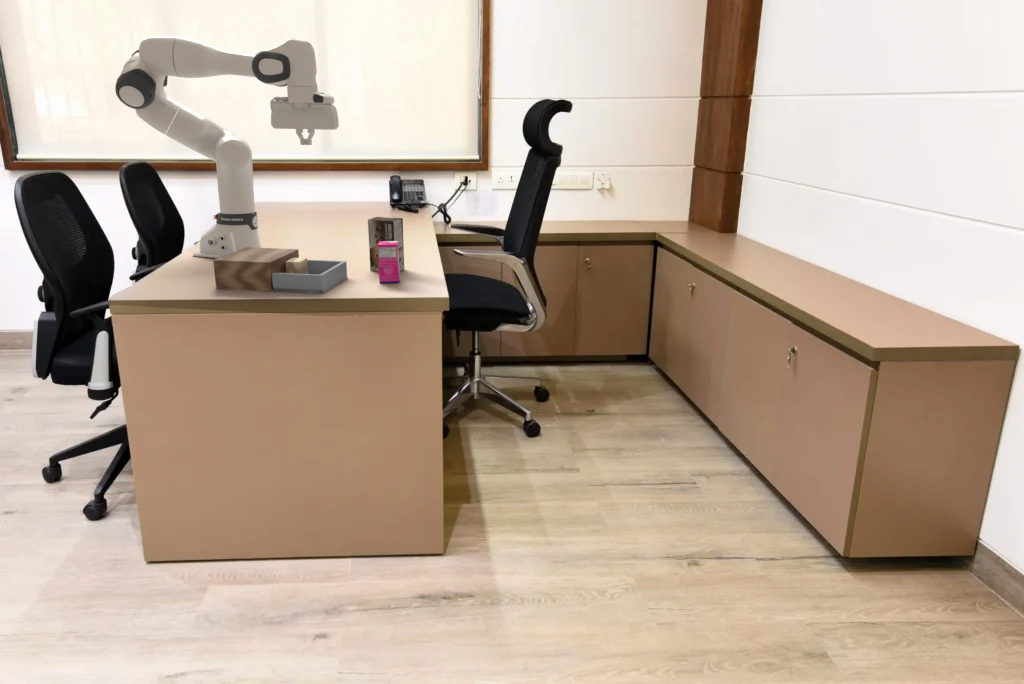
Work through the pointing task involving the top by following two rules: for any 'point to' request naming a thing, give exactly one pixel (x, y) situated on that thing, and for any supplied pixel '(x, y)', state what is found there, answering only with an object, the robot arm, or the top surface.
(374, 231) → the coffee box
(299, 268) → the birch block
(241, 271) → the zigzag grain wood block
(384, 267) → the supplement box
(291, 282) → the box
